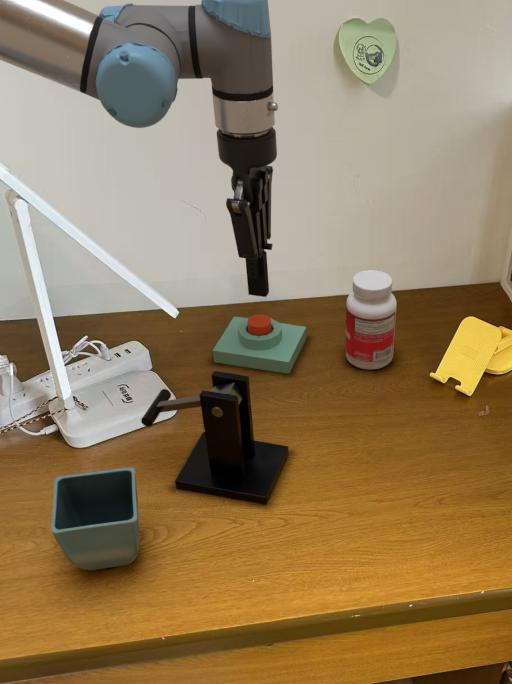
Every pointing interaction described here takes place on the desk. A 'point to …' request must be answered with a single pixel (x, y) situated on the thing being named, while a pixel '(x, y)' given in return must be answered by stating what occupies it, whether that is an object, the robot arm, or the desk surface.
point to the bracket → (231, 448)
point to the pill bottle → (370, 320)
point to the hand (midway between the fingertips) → (258, 293)
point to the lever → (182, 402)
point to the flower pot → (97, 518)
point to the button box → (260, 346)
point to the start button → (259, 325)
